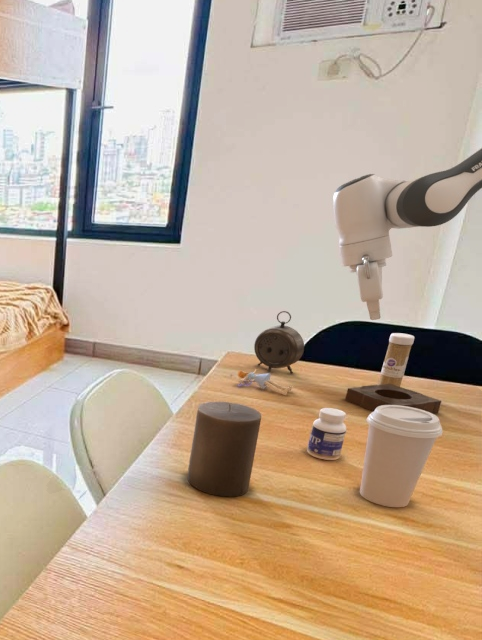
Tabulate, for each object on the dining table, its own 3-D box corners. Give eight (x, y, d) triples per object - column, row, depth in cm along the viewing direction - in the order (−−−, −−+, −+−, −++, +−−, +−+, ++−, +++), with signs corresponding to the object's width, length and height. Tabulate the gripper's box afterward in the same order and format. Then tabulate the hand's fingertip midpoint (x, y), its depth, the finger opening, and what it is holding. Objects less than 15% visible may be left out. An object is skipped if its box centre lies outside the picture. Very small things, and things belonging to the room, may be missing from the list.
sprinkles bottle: (375, 388, 153) (388, 334, 149) (379, 383, 156) (393, 331, 152) (398, 392, 150) (412, 338, 146) (402, 388, 153) (416, 334, 148)
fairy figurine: (284, 386, 146) (231, 369, 154) (277, 404, 148) (226, 387, 156) (300, 375, 153) (249, 359, 161) (294, 392, 155) (244, 376, 163)
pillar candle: (238, 503, 103) (254, 419, 98) (178, 484, 109) (190, 404, 104) (255, 481, 110) (270, 402, 105) (197, 465, 116) (209, 389, 111)
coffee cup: (357, 506, 101) (379, 420, 96) (342, 480, 110) (362, 400, 105) (429, 516, 98) (457, 428, 93) (408, 489, 106) (432, 406, 101)
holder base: (387, 394, 149) (390, 383, 148) (440, 413, 137) (444, 401, 136) (342, 399, 146) (345, 387, 145) (393, 419, 135) (396, 406, 134)
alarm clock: (299, 373, 165) (312, 313, 159) (289, 377, 162) (302, 316, 156) (257, 364, 173) (268, 306, 168) (247, 367, 170) (257, 309, 165)
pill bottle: (302, 447, 122) (311, 405, 119) (332, 449, 121) (342, 407, 118) (313, 459, 117) (323, 415, 114) (344, 461, 116) (355, 417, 113)
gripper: (384, 253, 126) (395, 320, 127) (383, 246, 141) (392, 306, 143) (346, 261, 129) (356, 326, 131) (349, 254, 145) (358, 312, 147)
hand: (375, 315), depth 137 cm, fingers open, 8 cm apart
